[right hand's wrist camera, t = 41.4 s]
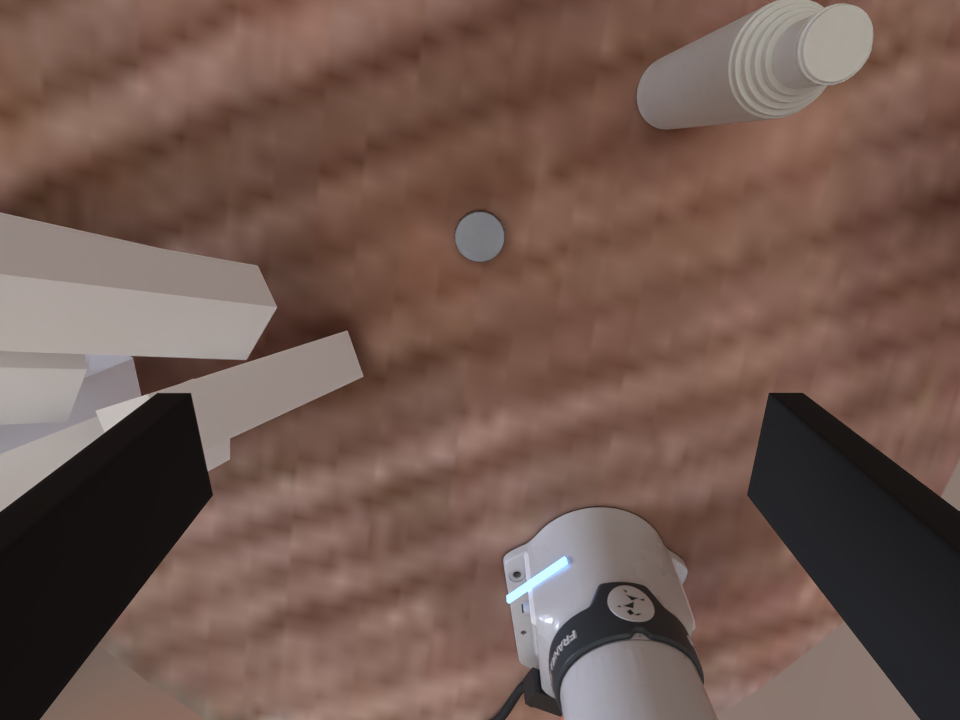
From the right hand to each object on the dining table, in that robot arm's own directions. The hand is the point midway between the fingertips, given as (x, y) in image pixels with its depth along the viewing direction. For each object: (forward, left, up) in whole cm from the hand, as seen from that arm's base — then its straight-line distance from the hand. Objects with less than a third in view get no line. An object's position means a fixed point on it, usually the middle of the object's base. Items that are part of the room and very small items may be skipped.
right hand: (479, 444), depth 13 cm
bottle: (+9, +15, -34) cm, 38 cm away
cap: (0, 0, -32) cm, 32 cm away
